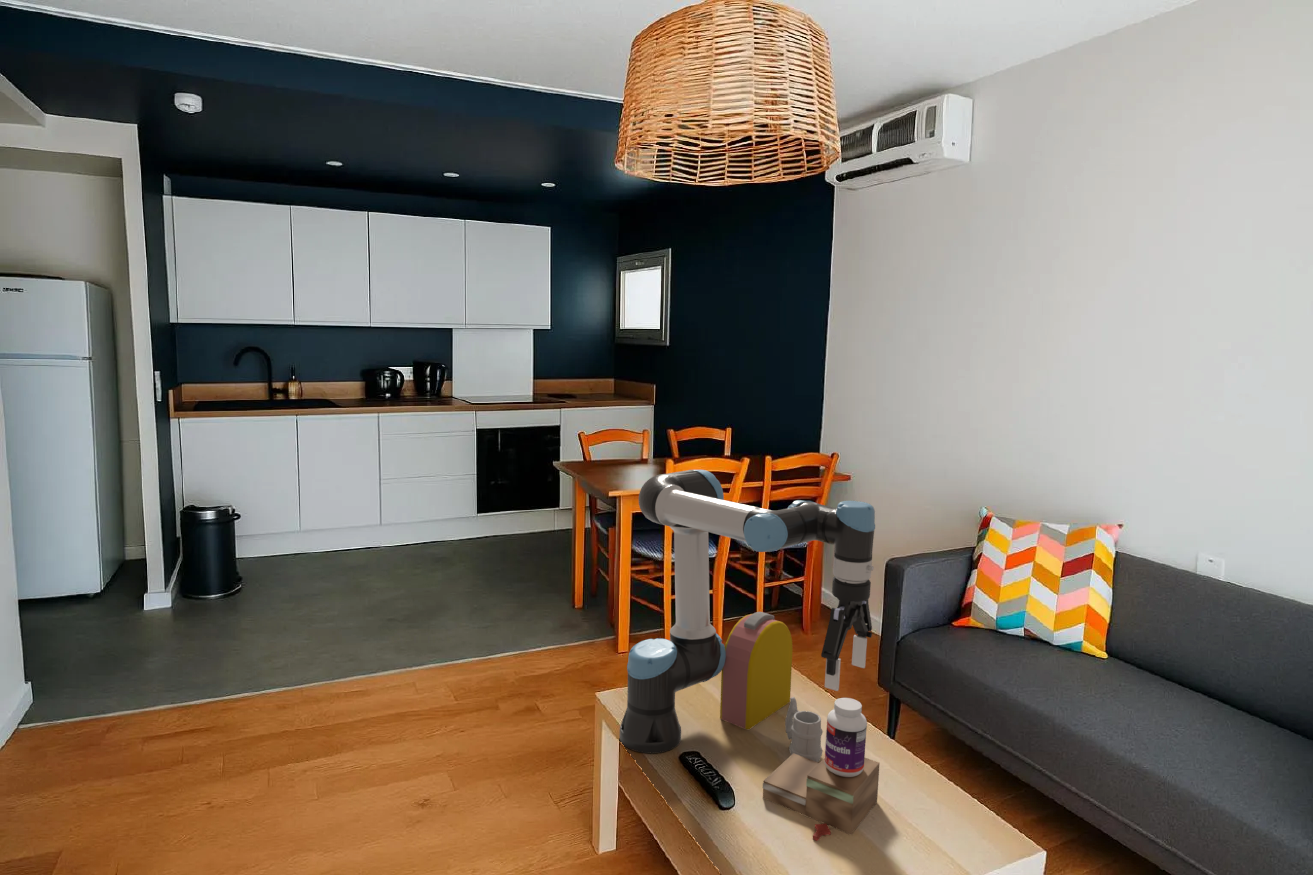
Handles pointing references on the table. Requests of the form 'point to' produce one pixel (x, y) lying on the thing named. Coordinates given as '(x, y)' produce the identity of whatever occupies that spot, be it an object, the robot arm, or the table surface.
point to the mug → (804, 732)
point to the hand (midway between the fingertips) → (845, 676)
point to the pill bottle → (845, 738)
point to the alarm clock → (756, 670)
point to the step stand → (823, 793)
